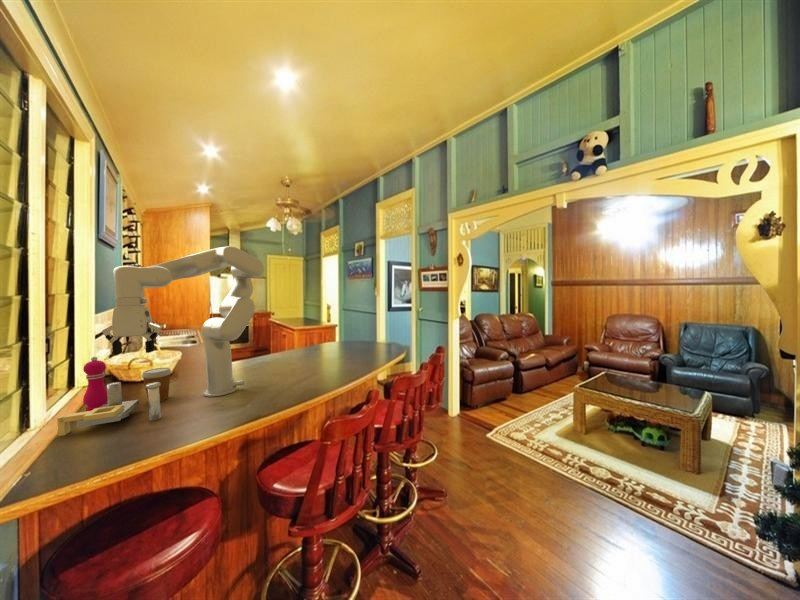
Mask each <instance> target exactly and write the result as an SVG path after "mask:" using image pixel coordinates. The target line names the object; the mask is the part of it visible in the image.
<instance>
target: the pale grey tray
mask: <svg viewBox="0 0 800 600" xmlns="http://www.w3.org/2000/svg"><path fill="white" fill-rule="evenodd" d="M106 388H107V398H108V401H107V402H108V404H104V405H102V406H100V407H99V408H102V407H109V406H116V405H123V404H124V409H123V410H122V411H121V412H119V413H118V414H117V415H116V416H115V417H109V418H102V419H96V420H89V421H83V419H82V420H78V421H77V422H76V423H77V426H76V427H77V428H83V427H88V426H96V425H102V424H108V423H114V422H120V421H122V420H124V419H126V417H127V418H128V417H130V412H131V411H132V410H134V409H135V408H136V407H137V406H138V405H140V401H139V399H135V400H126V401H123V395H122V393H123V392H122V382H121V381H116V382H110V383H107V384H106ZM121 419H122V420H121Z"/></svg>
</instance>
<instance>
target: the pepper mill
mask: <svg viewBox="0 0 800 600" xmlns="http://www.w3.org/2000/svg"><path fill="white" fill-rule="evenodd" d="M90 360H91V361H88V362H87V363H85V364H84V365H83V369H82V370H83V372H84V373H85V374H86V375H85V377H86V378H85V379H86V380H87V389H86V391H85V393H84V395H83V398H82V402H83V404H84V405H86V406H85V412H86V411H92V410H93V409H95V408H99V407H100V406H102V405H104V404H108V398H107V386H105V385H106V384H105V383H104V377H105V376H106V375H105V370H106V369H107V365H106V362H104V361H102V360H99V359H98V357H97V356H92V357H90Z"/></svg>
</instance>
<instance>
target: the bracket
mask: <svg viewBox="0 0 800 600" xmlns="http://www.w3.org/2000/svg"><path fill="white" fill-rule="evenodd" d="M123 409H124V404H123V405H116V406H109V407H102V408H95V409H93V410H92V411H86V410H85V411H81V412H73V413H67V414H62V415H60V416H59V417H56V420H57V434H58V437H64V436H66V435H67V434H69V433H70V432H71V422H75V421H80V420H82V419H83V421H89V420H96V419H102V418H109V417H115V416H116V415H117V414H118V413H119V412H121V411H122V410H123Z"/></svg>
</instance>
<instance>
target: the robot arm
mask: <svg viewBox="0 0 800 600" xmlns="http://www.w3.org/2000/svg"><path fill="white" fill-rule="evenodd" d="M223 268H230V273H231V276H232V279H233V285H232V287H231V289H230V291H229V292H228V294H227V295H226V296H225V298H224V299H223V301H222V302H221V303H220V305H219V309H218V311H219V314H220V315H221V316H222V317H211V318H209V319H207V320H205V321H204V323H203V324H202V326H201V330H200V331H201V336H202V340H203V345H204V353H205V358H204V359H205V373H206V389H205V390H204V391H202V395H203V397H209V398H211V397H221V396H225V395H230V394H232V393H234V392H236V391H237V390H238V386H239V387H241V386H245V380H242V379H240V380H237V379H236V380H235V377H234V376H233V363H232V362H233V361H232V358H233V357H232V347H231V344H230V342H232V341H235V340H237V339H238V338H239V337H240V336H241V335H242V333H244V330H245V329H246V328H247V326H248V324H249V323H250V322H251V320H252V318H253V316H254V314H255V312H256V304H255V303H254V300H253V299H251V297H252V295H253V293H254V286H253V281H252V279H255V278H259V277H261V276H262V275H263V274H264V272H265V266H264V263H263V262H262V261H261V260H260V259H259V258H257V257H256V256H253V255H251V254H250V253H248V252H246V251H244V250H242V249H239V248H238V247H235V246H231V245H227V246H226V245H225V246H221V247H215V248H211V249H208V250H204V251H200V252H198V253H193V254H189V255H186V256H182V257H178V258H176V259H172V260H169V261H164V262H161V263H158V264H154V265H150V266H146V267H143V266H142V267H139V266H135V265H134V266H130V265H126V266H125V265H124V266H123V265H121V266H120V265H119V266H116V267H115V268H114V269H113V284H114V298H115V300H114V301H115V307H114V308H113V311H112V317H111V319H112V321H111V325H110V326H108V327H106V328H104V329H102V331H101V332H102V334H103V335H104V337H105V339H106V340H107V341H109V343H111V347H112V348H111V349H112V354H113V355H114V356H116V355H119V354H122V353H123V345H122V344H123V343H122V341H121V340H122V338H130V337H141V336H142V337H143V338H144V339H145V340H146V341H145V342H144V345H145V346H144V347H145V353H148V354H150V353H152V352H154V350H155V340H156V338H157V337H158V336H159V335H160V333H161V330H162V326H159V325H157V324H155V323H153V319H152V315H151V311H150V308H149V306H148V305H147V306H146V304H148V303H150V302H149V299H148V298H146V297H145V289H156V288H164V287H168V286H169V285H170V284H171V283H172V282H173V281H176V280H177V281H178V280H182V279H190V278H194V277H200V276H202V275H205V274H208V273H211V272H214V271H217V270H220V269H223ZM111 332H112V333H111Z"/></svg>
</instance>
